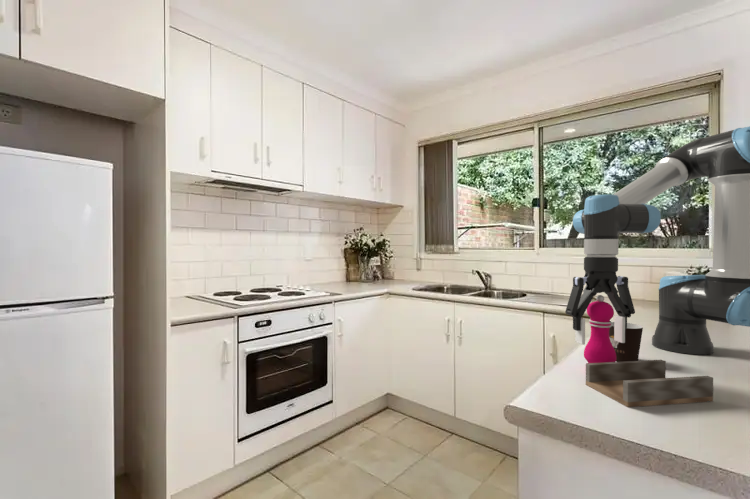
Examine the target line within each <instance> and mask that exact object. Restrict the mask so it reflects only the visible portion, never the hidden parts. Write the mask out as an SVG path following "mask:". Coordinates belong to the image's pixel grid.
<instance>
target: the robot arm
mask: <svg viewBox="0 0 750 499" xmlns="http://www.w3.org/2000/svg"><path fill="white" fill-rule="evenodd" d="M704 177H707V180H708V181H709V182H710V183H711V184H713V186H714V211H713V212H714V213H713V214H714V216H713V243H712V244H713V245H712V246H713V247H712V269H710V271H709V272H707V273H706V274H689V275H665V276H663V277H661V278H660V280H659V286H658V287H659V288H658V323H657V324H656V325H657V326H656V327H655V330H654V334H653V335H652V337H651V345H652V346H653V347H656V348H658V349H661V350H665V351H668V352H674V353H680V354H689V355H710V354H711V355H712V354H713V353H714V348H715V347H714V342H712V339H711V336H710V333H709V330H708V328H707V321H712V322H713V321H714V322H719V323H724V324H729V325H731V326H742V327H748V328H750V126H745V127H738V128H735V129H731V130H729V131H724V132H721V133H717V134H714V135H709V136H704V137H700V138H698V139H694V140H692V141H690V142H688V143H686V144H684V145H682V146H681V147H678V148H677V149H675V150H673V151H672V152H670V153H669V154H667V155H666V156H664V157H662V158H661V159H660V160H658V161H657V162H656V164H655V165H654V167H653V168H652V169H650V170H649V171H647V172H646V173H644V174H643V175H641V176H639V177H638V178H636V179H635V180H633V181H631V182H629V183H628V184H627V185H625V186H624V187H623V188H621V189H619V190H618V191H616V192H615V193H613V194H608V193H607V194H596V195H595V194H594V195H590V196H588V197H586V198H585V200H584V208H583V209H581V210H578V211H577V212H575V214H574V215H573V217H572V226H573V228H574V230H575V231H576V232H578V234H583V235H584V236H583V238H584V240H583V242H584V243H583V253H584V254H585V256H584V258H583V270H584V273H585V274H584V276H583V277H582V276H581V277H579V276H573V277H572V288H571V291H570V295H569V298H568V301H567V305H566V307H565V314H566V315H567V316H568V315H569V316H570V317H572V329H573V330H574V333H575V334H574V337H575V339H574V343H577V344H580V345H582V346H583V345H584V346H586V318H585V317H584V315H585V312H587V307H588V306H589V304H590V303H592V300H593V298H594V297H596V295H598V294H602V293H604V294H605V295H606V296H607V297H608V299H609V301H610V304H611V306H612V307H613V310H615V313H617V315H615V314H614V315H613V317H614V319H613V320H614V321H613V322H614V340H615V341H618V342H621V343H625V329H626V328H627V323H628V318H631V316H632V315H634V314H635V313H636V310H635V306H634V302H633V299H632V295H631V291H630V289H629V288H630V287H629V277H628V276H623V275H622V276H621V275H617V272H618V271H619V258H618V257H616V256H618V255H619V235H620V234H647V233H652V232H654V231H656V230H657V229H658V228H659V226H660V225H661V222H662V220H661V219H662V214H661V211H660V210H659V209H658V208H657V206H655V205H651V204H647V203H648V202H649V203H650V202H651V201H652V200H653V199H655V198H656V197H657V198H658V196H660V195H661V194H663V193H665V191H667V190H668V189H671V188H672V187H678V186H682V185H683V184H684V183H686V182H688V181H690V180H695V179H699V178H704ZM615 285H616V286H615Z"/></svg>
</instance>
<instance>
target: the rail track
mask: <svg viewBox="0 0 750 499" xmlns="http://www.w3.org/2000/svg"><path fill="white" fill-rule="evenodd" d="M666 362H667V361H666V360H663V359H649V360H647V359H646V360H638V361H625V362H617V361H616V362H604V363H588V362H587V363H585V385H586V386H588V387H589V388H592V389H593V390H595V391H597V392H599V393H601V394H602V395H605V397H608V398H610V399H612V400H614V401H615V402H617V403H619V404H621V405H623V406H625V407H627V408H632V407H633V408H634V407H649V406H651V407H652V406H663V405H676V404H691V403H692V404H693V403H708V402H707V401H710V402H714V377H713V376H710V375H701V376H700V375H697V376H681V377H678V376H677V377H666V366H667V364H666Z"/></svg>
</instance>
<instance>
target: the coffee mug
mask: <svg viewBox="0 0 750 499" xmlns="http://www.w3.org/2000/svg"><path fill="white" fill-rule="evenodd" d="M611 322H612V323H611V327H610V328H609V337H610V341H611V343H612V346H613V348H614V350H615V353H616V362H625V361H639V356H640V348H641V344H642V343H641V342H642V338H643V337H642V336H643V330H644V326H643V325H640V324H637V323H632V322H627V328H626V329H625V343H621V342H618V341H615V340H614V321H611Z"/></svg>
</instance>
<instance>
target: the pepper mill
mask: <svg viewBox="0 0 750 499" xmlns="http://www.w3.org/2000/svg"><path fill="white" fill-rule="evenodd" d="M595 299H596V300H595V301H591V302H590V304H589V306H588V307H587V309H586V313H587V315H588V317H589V318H590V319H588V325H589V326H590V336H589V339H588V341H587V344H585V347H584V349H583V357H584V359H585V360H586V362H587V363H604V362H617V361H616V353H615V350H614V348H613V346H612V343H611V341H610V337H609V328H610V327H611V323H612V322H613V321H611V319H612V318H613V317H614V316H615V311H614V310H615V309H614V307H613V305H612V304H611V303H608V302H606V301H605V297H604V295H602V294H599V295H598V294H597V296H595Z"/></svg>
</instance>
